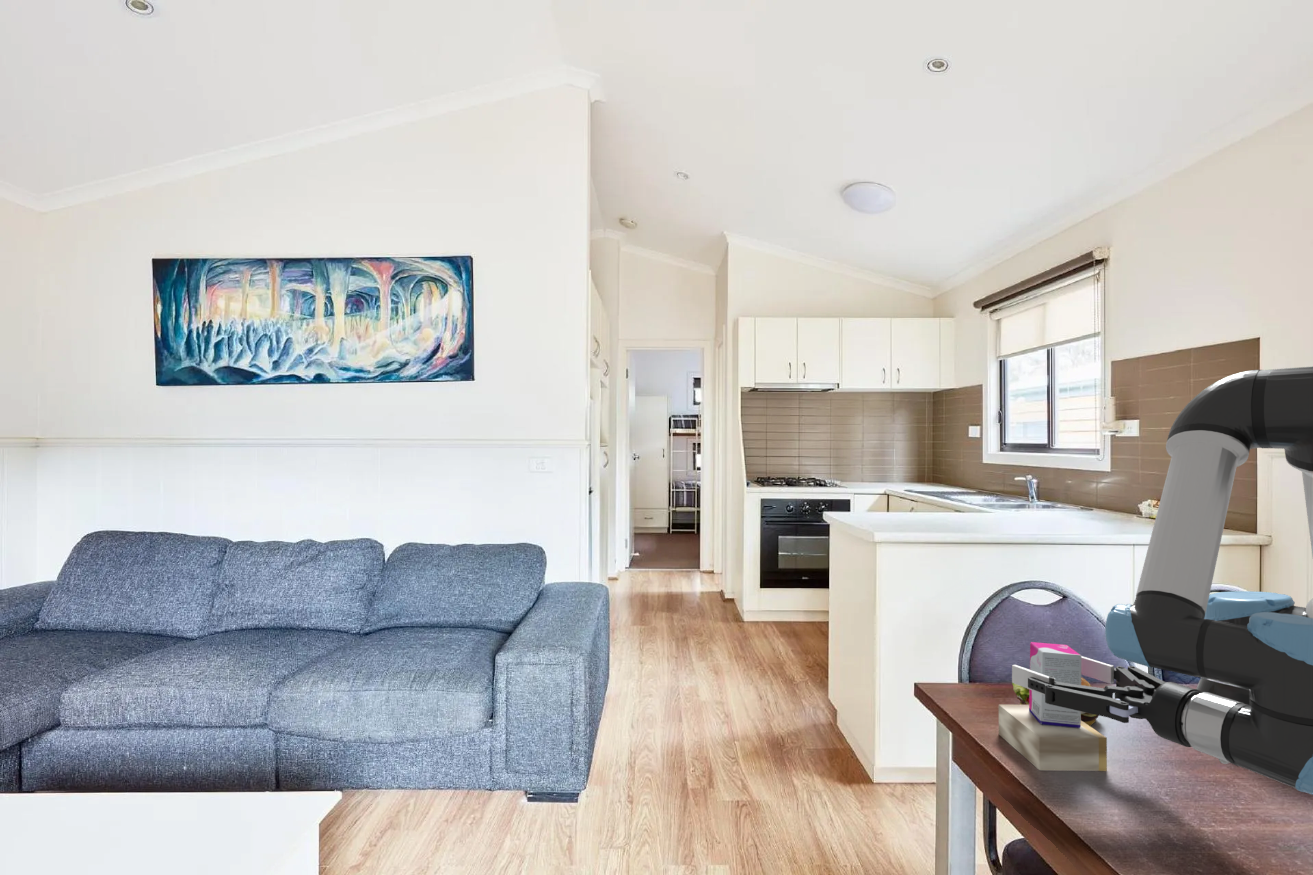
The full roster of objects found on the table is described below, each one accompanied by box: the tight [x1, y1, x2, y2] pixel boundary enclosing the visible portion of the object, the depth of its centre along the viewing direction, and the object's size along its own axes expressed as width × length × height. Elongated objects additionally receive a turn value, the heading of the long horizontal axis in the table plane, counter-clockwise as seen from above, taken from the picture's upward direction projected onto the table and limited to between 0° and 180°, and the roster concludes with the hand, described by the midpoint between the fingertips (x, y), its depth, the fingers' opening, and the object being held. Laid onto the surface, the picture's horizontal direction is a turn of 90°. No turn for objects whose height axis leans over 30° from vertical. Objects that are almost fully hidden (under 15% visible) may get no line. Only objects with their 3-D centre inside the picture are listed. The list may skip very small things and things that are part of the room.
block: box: [998, 704, 1108, 772], centre depth 103 cm, size 12×10×5 cm
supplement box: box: [1029, 641, 1082, 728], centre depth 103 cm, size 6×6×12 cm
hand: (1042, 667), depth 104 cm, fingers open, 13 cm apart
